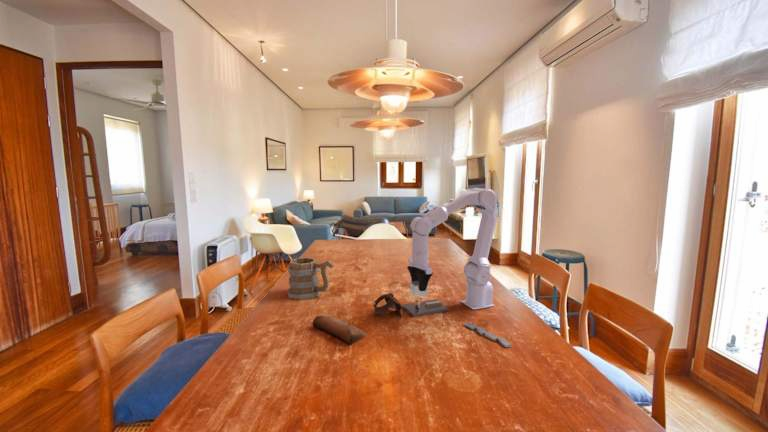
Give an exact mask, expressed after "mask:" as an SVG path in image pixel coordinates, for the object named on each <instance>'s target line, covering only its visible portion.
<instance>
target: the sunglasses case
mask: <svg viewBox="0 0 768 432" xmlns="http://www.w3.org/2000/svg"><path fill="white" fill-rule="evenodd" d="M312 325H313V327H316V328H317V329H321V330H322V331H325V332H327V333H329V334H331V335H334V336H335V337H337V338H338V339H340V340H342V341H344V342H346V343H348V344H350V345H352V346H353V345H355V344H356V343H358V342H360V341H361V340H363V339H365V338H367V337H368V336H369V335H368V334H367V333H366V332H365V331H363V330H361V329H360V328H358V327H356V326H354V325H353V324H350V322H349V321H347V320H345V319H342V318H337V317H335V316H330V315H317V316H315V317H314V319H313V322H312Z"/></svg>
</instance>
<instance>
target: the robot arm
mask: <svg viewBox="0 0 768 432" xmlns="http://www.w3.org/2000/svg"><path fill="white" fill-rule="evenodd" d="M497 202H498V195H497V194H496V192H495V191H494V190H493V189H491V188H478V187H473V188H471V189H469V190H466V191H465V192H464V193H463V194H461V195H460V196H458V197H457V198H455V199H454V200H451V201H450V202H448V204H446V205H444V206H441V205H437V206H436V205H434V206H432V209H431V210H429V211H427V212H426V213H424V212H423V213H422V214H421V216H416V217H414V218H413V219H412V220H411V221H410V224H409V228H410V230H411V231H412V234H411V235H412V238H411V257H409V258H408V266H406V267H407V270H408V272H409V275H410V279H411V281H419V289H420V291H426V288H427V285H428V286H429V282H430V279H431V278H432V276H433V273H434V272H433V268H432V267H431V266H430V264H429V234H431V232H432V229H434V228H435V227H437V226H439V225H440V224H442V223H444V222H446V221H447V220H448V217H449V215H451V214H453V213H455V212H457V211H459V210H460V209H462V208H465V207H466V206H474V207H476V208H477V210H478V211H479V212H480V214H481V217H480V221H479V225H478V226H479V227H478V231H477V235H476V239H475V240H476V241H475V245H474V247H473V248H474V249H473V253H472V255H471V256H470V257H468V258H467V259H468V260H467V262H466V264H465V265H464V267H463V274H464V275H465V276H466V284H465V285H466V289H465V299H462V300H461V301H460V302H461V303H462V304H463V305H465V306H467V307H468V308H470V309H471V310H479V309H486V308H492V307H494V303H493V301H494V300H493V299H494V287H493V284H492V282H490V280H491V277H492V274H491V267H492V265H491V262H490V261H489V259H488V258H489V254H490V250H491V247H492V242H493V237H494V234H495V229H496V223H497V220H498V215H499V208H498V203H497Z"/></svg>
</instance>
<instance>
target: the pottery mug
mask: <svg viewBox="0 0 768 432" xmlns="http://www.w3.org/2000/svg"><path fill="white" fill-rule="evenodd" d="M383 300H384V301H385V304H384V305H382V306H378V304H379V303H380V302H382V301H383ZM373 309H374V314H375V315H380V316H381V315H384V314H388V315H389V314H390V311H389V310H390V309H395V312H399V315H400V317H403V315H404V312H403V307H402V305H401V303H400V301H399V299H397V298H396V297H395V295H394V294H393V293H392V292H388V293H385V294H382V295H380V296H378V297H377V298H376V299H375V300H374V304H373Z"/></svg>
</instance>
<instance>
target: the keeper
mask: <svg viewBox="0 0 768 432" xmlns="http://www.w3.org/2000/svg"><path fill="white" fill-rule="evenodd" d="M401 307H402V309H403V310H405V311H406V312H407V313H408V314H409V315H410V316H411V317H420V316H426V315H431V314H438V313H444V312H449V307H447V306H445V305H444V304H443V302H442V301H441V300H437V299H430V300H424V301H422V300H420V298H415V302H409V303H402V305H401Z"/></svg>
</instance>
